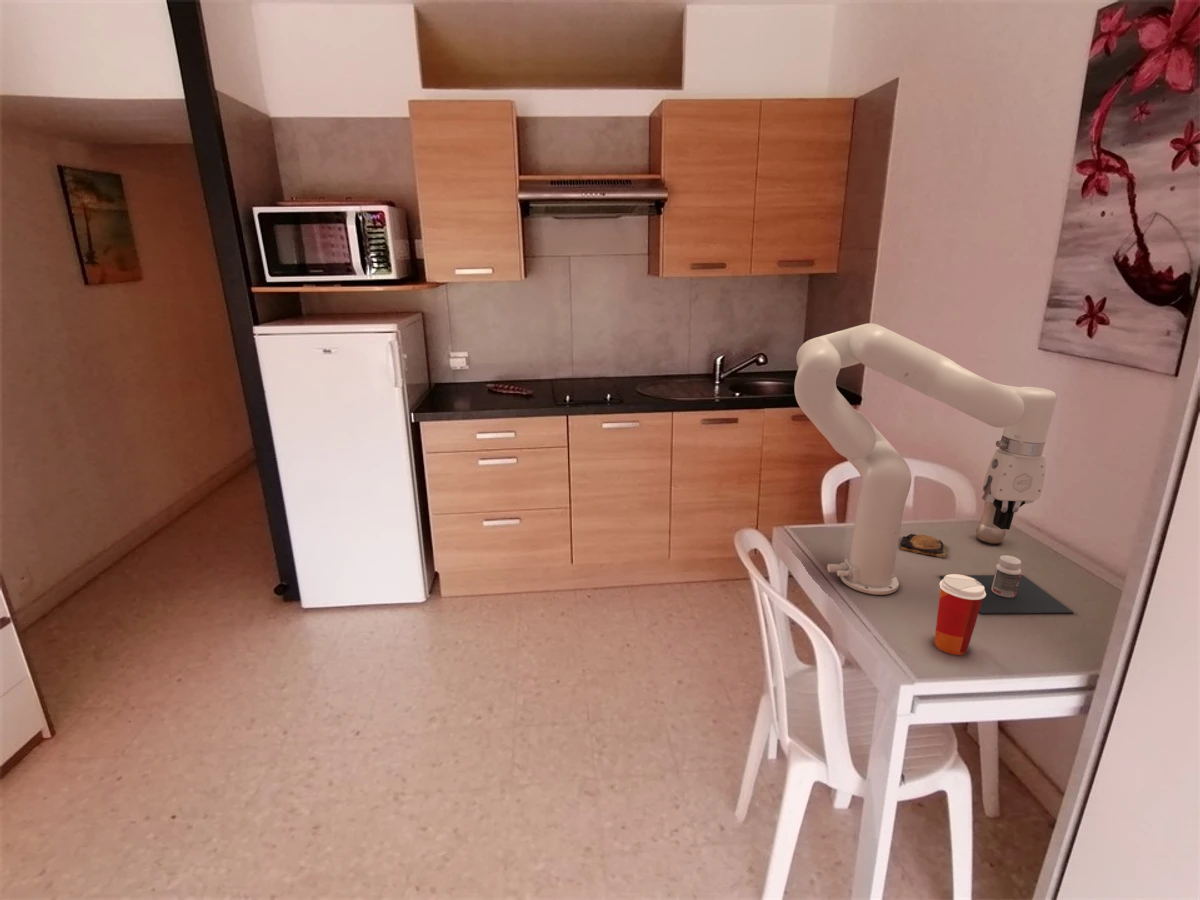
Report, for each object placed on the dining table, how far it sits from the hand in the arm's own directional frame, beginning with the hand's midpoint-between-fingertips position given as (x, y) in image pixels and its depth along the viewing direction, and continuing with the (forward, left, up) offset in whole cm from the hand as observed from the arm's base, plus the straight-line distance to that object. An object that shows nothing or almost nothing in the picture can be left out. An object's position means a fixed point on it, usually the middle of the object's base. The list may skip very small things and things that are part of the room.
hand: (1000, 526), depth 133 cm
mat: (+4, 0, -17) cm, 17 cm away
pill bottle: (+4, 0, -17) cm, 17 cm away
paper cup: (-19, -19, -17) cm, 32 cm away
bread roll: (-2, +23, -17) cm, 29 cm away
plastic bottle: (+18, +27, -17) cm, 36 cm away
